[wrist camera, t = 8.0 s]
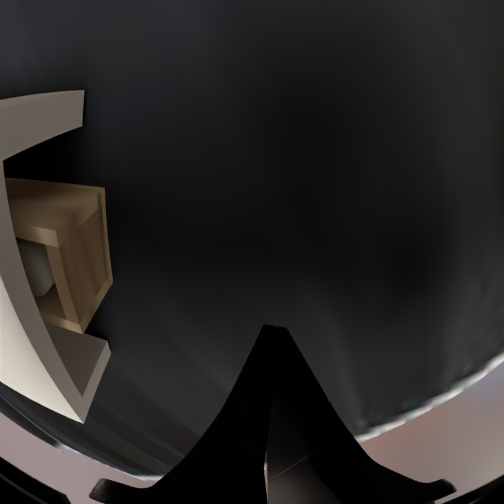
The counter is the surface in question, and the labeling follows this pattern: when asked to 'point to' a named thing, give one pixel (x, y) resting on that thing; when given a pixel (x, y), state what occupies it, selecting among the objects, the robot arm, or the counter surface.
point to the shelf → (17, 287)
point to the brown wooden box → (62, 247)
